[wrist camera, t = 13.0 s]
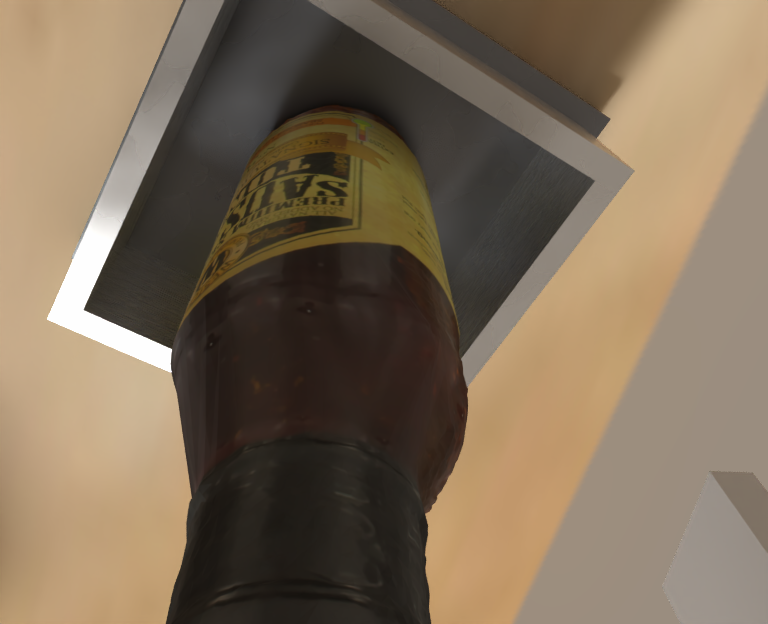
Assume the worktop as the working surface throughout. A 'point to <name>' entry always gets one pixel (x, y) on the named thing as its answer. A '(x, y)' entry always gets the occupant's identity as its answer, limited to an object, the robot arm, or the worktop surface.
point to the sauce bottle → (318, 385)
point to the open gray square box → (359, 91)
